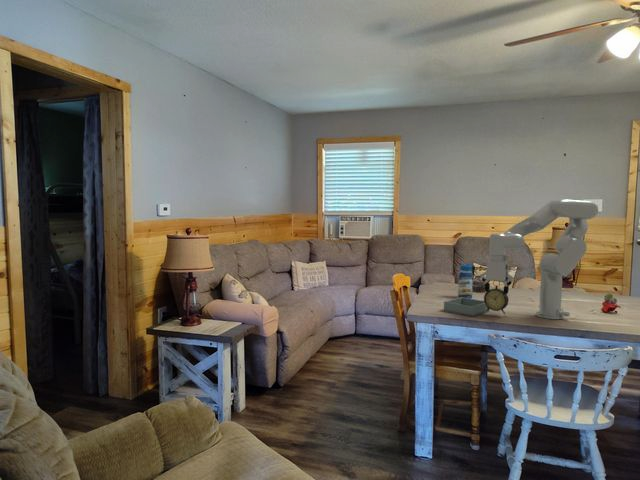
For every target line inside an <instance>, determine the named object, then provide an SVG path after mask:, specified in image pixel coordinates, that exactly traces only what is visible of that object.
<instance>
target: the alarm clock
mask: <svg viewBox="0 0 640 480" xmlns="http://www.w3.org/2000/svg"><path fill="white" fill-rule="evenodd" d="M492 282H493V283H492V284H493V286H494V287H495V288H490V290H488V291H487V292H485V294H484V296H483V301H484V302H485V305H486V306H487V307H488V309H487V311H488V310H489V311H493V312H499V311H500V312H501V311H502V313H503V314H506V312H505V311H504V310H505V308H506V307H508V305H509V297H508V296H509V295H508V294H504V289H501V288H498V287H500V285H501V282H498V283H499V284H498V285H495V284H494V283H495V281H492Z"/></svg>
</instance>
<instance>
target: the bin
mask: <svg viewBox="0 0 640 480" xmlns="http://www.w3.org/2000/svg"><path fill="white" fill-rule="evenodd" d="M487 309H488V307H487V306H486V305H485V302H484V300H480V299H475V298H474V299H473V298H472V299H469V298H463V297H460V298H458V297H457V298H453V299H449V300H445V301H443V312H447V313H451V314H455V315H462V316H467V317H470V318H471V317H472V318H473V317H477V316H480V315H483V314H485V313H489V312H490V309H489V310H488V311H487Z"/></svg>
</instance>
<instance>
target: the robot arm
mask: <svg viewBox="0 0 640 480" xmlns="http://www.w3.org/2000/svg"><path fill="white" fill-rule="evenodd" d="M598 213H599V207H598V205H597V204H596V203H595V202H593V201H589V200H577V199H576V200H574V199H566V198H565V199H553V200H550V201H549V202H547V203H546V204H545V205H542V207H540V209H538V210H536V212H534V213H533V214H532V215H530V216H529V217H526V218H524V219H522V220H521V221H519V222H518V223H516V224H514V225H512V226H511V227H510V228H508V229H507V230H506V231H505V232H504V233H491V234H490V236H489V253H488V254H489V255H488V256H489V257H488V258H489V259H488V261H487V263H486V269H485V272H482V273H481V274H480V275H479V277H481V278H482V281H483V282H484V284H485V290H486V292H487V291H488V290H490V289H491V288H490V287H491V284H490V283H491V282H498V283H499V282H500V283H502V284H503V285H504V286H503V291H504V294H507V295H508V293H509V287H510V285H513V282H514V281H515V277H513V276H512V275H511V274H510V273H509V263H508V261H507V260H509V257H508V256H507V254H506V252H507V251H506V250H507V249H513V250H517V249H518V250H519V249H520V248H522V247H523V246H524V245H525V237H526V236H527V235H530V234H533V233H537V232H539V231H543V230H544V229H545V228H547V226H550V224H552V223H553V222H554V221H556V220H557V219H558V218H568V219H569V220H568V225H567V227H566V229H565V230H563V231H564V232H562V234H561V235H560V237H559V238H558V239H557V241H556V242H555V244H554V250H555V251H556V252H557V253H558V254H556V253H546V254H544V255H543V256H542V257H541V258H540V261H539V269H540V271H539V272H540V287H539V288H540V289H539V290H540V291H539V307H538V308H539V309H538V310H539V311H536V312H535V316H536V317H539V318H543V319H547V320H563V319H564V318H565V317H570V316H571V312H569V311H564V309H563V308H562V297H563V295H562V294H563V293H562V292H563V291H562V290H563V276H568V274H571V272H572V271H573V270H575V268H576V267H577V266H578V264H579V263H580V262H581V260H582V258H583V257H585V254H586V252H587V243H586V241H585V240H584V237H585V236H586V234H587V232H588V229H589V228H588V227H589V226H588V223H589V222H588V220H592V219H594V218H595V217H596V216H597V215H598ZM484 277H486V279H485V278H484ZM486 292H485V293H486Z"/></svg>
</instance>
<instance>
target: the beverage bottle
mask: <svg viewBox="0 0 640 480" xmlns="http://www.w3.org/2000/svg"><path fill="white" fill-rule="evenodd" d="M459 271H460V273H459V274H458V279H457V282H458V289H457V298H460V297H463V298H469V299H473V289H472V285H473V281H474V275H473V274H472V271H473V265H470V264H460V266H459Z"/></svg>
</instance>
